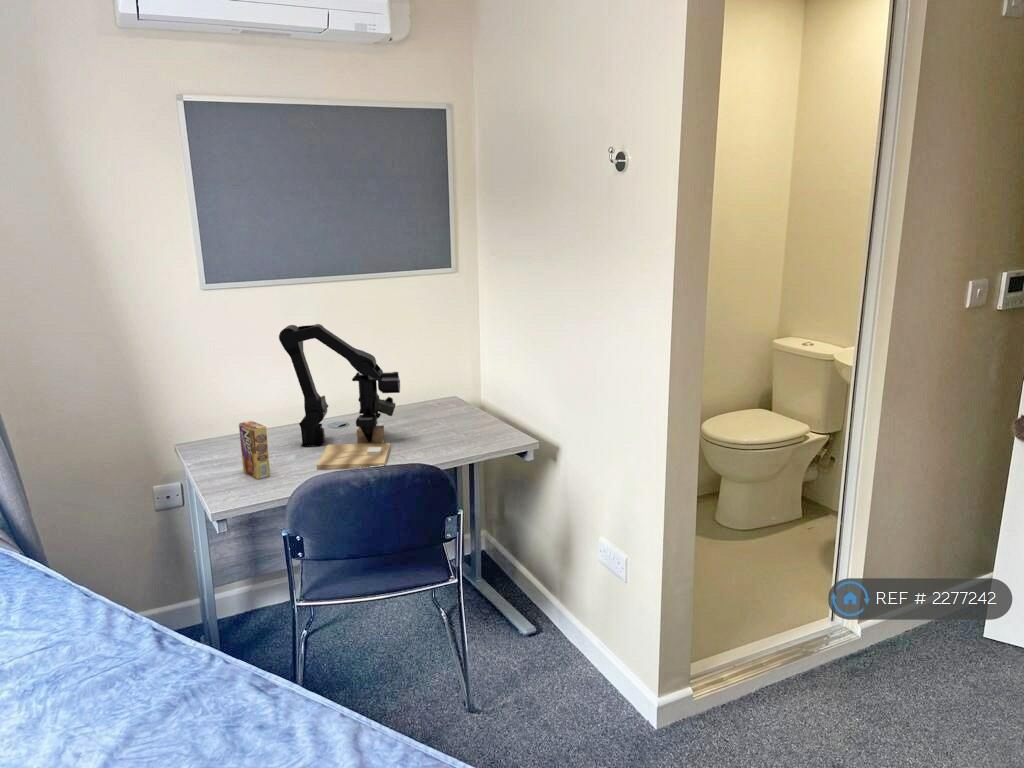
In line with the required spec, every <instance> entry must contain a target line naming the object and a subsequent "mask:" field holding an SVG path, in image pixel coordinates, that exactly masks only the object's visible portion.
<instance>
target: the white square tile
mask: <svg viewBox="0 0 1024 768" xmlns="http://www.w3.org/2000/svg"><path fill="white" fill-rule="evenodd" d="M381 451H382V447H369V448H368V450H367V455H380V454H381Z"/></svg>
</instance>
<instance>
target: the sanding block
mask: <svg viewBox="0 0 1024 768" xmlns="http://www.w3.org/2000/svg"><path fill="white" fill-rule="evenodd" d="M385 437H386V436H385V426H384V425H376V426H374V427H373V435H372V441H371V442H368V440H367V439H366V437H365V435H364V433H363V432H362V430H361V428H360V427H357V429H356V441H357V443H356V444H375V443H384V442H385V440H384V439H385ZM383 441H384V442H383Z"/></svg>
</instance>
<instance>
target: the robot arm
mask: <svg viewBox="0 0 1024 768" xmlns="http://www.w3.org/2000/svg"><path fill="white" fill-rule="evenodd" d="M314 339H316V340H317V341H319V342H321V344H323V345H325V346H326V347H327V348H329V349H331V350H332V351H334V352H335V353H337V354H338V355H340V356H341V357H342V358H344V359H346V361H347V362H349V364H350V365H351V367H353V369H355V371H357V372H356V374H355V375H354V376H353V377H352V379H351V381H352V382H358V393H359V396H358V402H359V408H360V409H359V411H358V412H359V415H358V416H357V418H356V420H355V426H356V427H357V428H359V427H360V428H361V430H362V432H363V433H364V435H365V437H366V439H367V440H368V442H371V441H372V435H373V427H374V426H378V419H379V418H380V417H381V415H382V414H384V415H387V416H389V417H392V416H393V414H394V412H395V409H396V405H397V404H396V402H394V398H393V397H391V396H388V397H386V398H385V399H383V398H382V399H381V398H380V395H379V393H378V391H379V392H380V393H382V394H400V393H401V380H400V375H399V372H398V371H392V372H384V370H382V368H381V367H380V366H379V364H377V359H376V358H375V356H374V355H373V354H371V353H369V352H366V351H364V350H362V349H357V347H356V348H355V347H354V346H352V345H350V343H347V342H346V341H345V340H343V339H341V338H340V337H339V336H337V335H336V334H334V333H332V332H331V331H329V330H328V329H327V328H325V327H324V326H323V325H322V324H320V323H315V324H311V325H301V326H297V325H294V324H289V325H287V326H286V327H284V328H283V329H282V330H280V332H279V334H278V340H279V342H280V344H281V347H283V349H284V351H285V352H286V353H287V354H288V356H289V357H290V360H291V362H292V365H293V368H294V372H295V374H296V377H297V380H298V383H299V387H300V390H301V392H302V395H303V399H304V400H303V401H304V405H303V406H304V413H305V415H304V417H303V418H302V419H301V420H300V422H299V423H298V424H299V427H300V431H301V444H300V446H301V447H321V446H322V445H323V443H324V442H325V441H326V435H325V428H324V427H323V424H322V423H321V422H322V421H323V420H324V419H325V417H326V415H327V413H328V408H329V404H328V403H327V401H326V400H327V399H326V395H322V396H320V394H319V393H318V390H317V388H316V385H315V383H314V379H313V376H312V373H311V370H310V368H309V364H308V362H307V359H306V358H307V357H306V356H305V352H304V341H305V342H306V341H309V340H314Z"/></svg>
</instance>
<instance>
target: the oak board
mask: <svg viewBox="0 0 1024 768" xmlns="http://www.w3.org/2000/svg"><path fill="white" fill-rule="evenodd" d="M369 447H382V451H381V454H380V455H367V450H368V448H369ZM390 451H391V443H390V442H387V443H386V442H385V443H384V442H383V443H375V444H357V443H349V444H347V443H345V444H344V443H343V444H342V443H341V444H340V443H338V444H327V446H326V447H325V449H324V451H323V453H322V454H321V455H320V458H319V460H318V462H317V464H316V470H319V471H320V470H321V471H322V470H324V471H325V470H350V469H349V468H360V467H370V466H379V465H385V466H386V464H387V461H388V459H389V454H390Z"/></svg>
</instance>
